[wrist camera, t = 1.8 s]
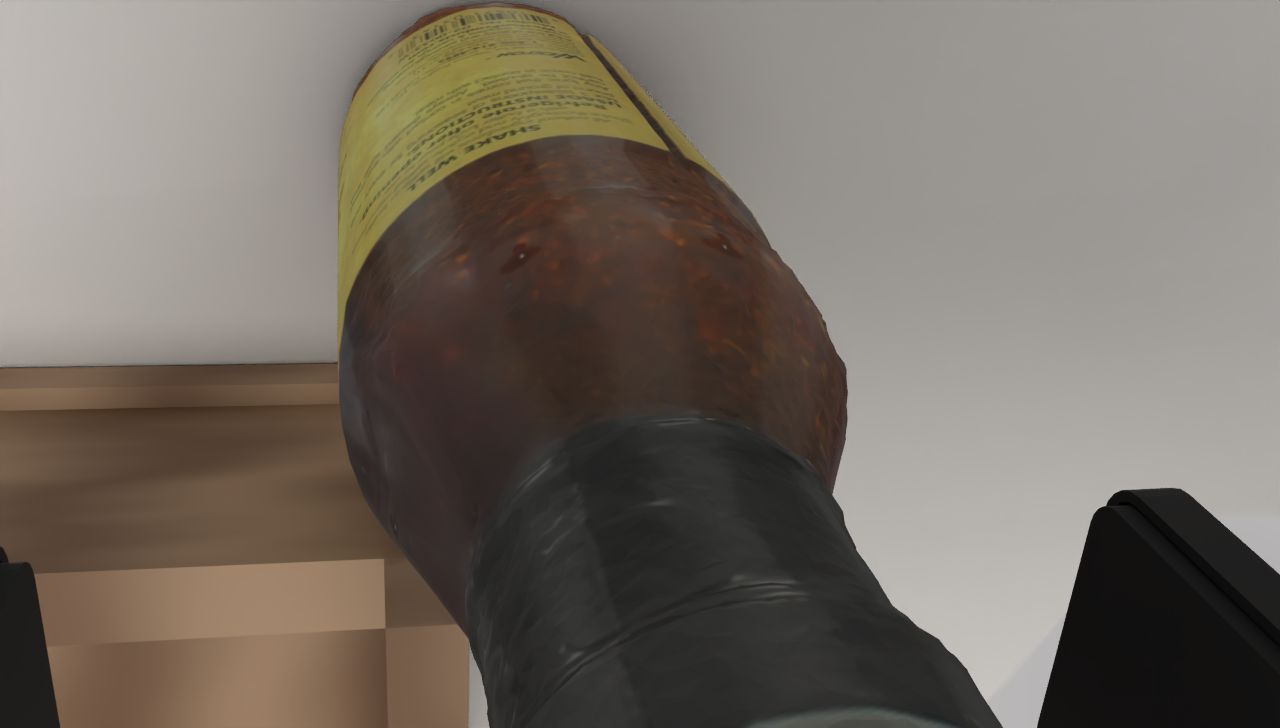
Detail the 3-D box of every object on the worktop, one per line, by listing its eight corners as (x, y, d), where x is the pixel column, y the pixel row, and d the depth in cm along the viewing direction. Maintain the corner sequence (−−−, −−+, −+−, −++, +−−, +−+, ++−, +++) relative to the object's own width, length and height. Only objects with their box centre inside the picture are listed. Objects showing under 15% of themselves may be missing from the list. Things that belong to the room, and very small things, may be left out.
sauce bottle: (291, 198, 26) (60, 1138, 8) (433, -73, 24) (542, 364, 6) (560, 331, 28) (840, 1281, 10) (708, 94, 26) (1349, 752, 9)
